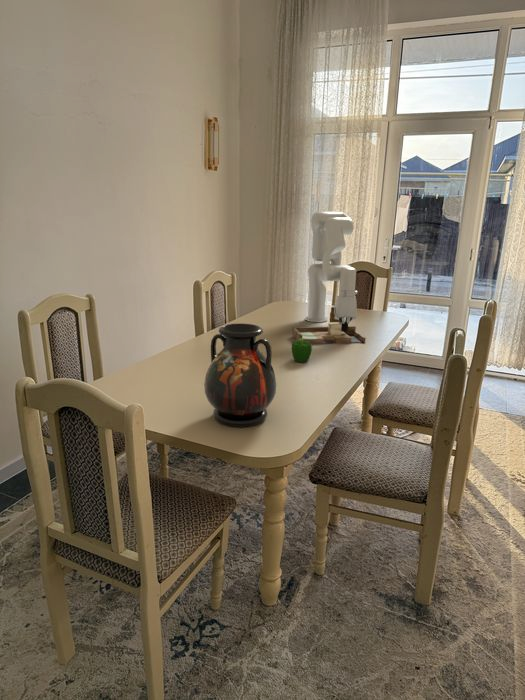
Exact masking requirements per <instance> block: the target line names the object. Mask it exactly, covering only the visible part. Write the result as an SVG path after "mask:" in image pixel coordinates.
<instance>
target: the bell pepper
mask: <svg viewBox="0 0 525 700" xmlns="http://www.w3.org/2000/svg"><path fill="white" fill-rule="evenodd" d="M312 347H313V346H312V344H310V343H309V342H308V341H306V342H303V340H302V339H301V338H300V339H299V341H296V340H295V341H292V344H291V353H292V357H293V360H294V361H295V362H296V363H305V362H308V361H309V360H310V357H311V355H312V352H313V351H312V350H313V348H312Z"/></svg>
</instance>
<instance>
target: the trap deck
mask: <svg viewBox="0 0 525 700" xmlns="http://www.w3.org/2000/svg"><path fill="white" fill-rule="evenodd" d="M356 329H357V326H354V325H348V329H347V331H345V332H344V331H342V329H341V335H330V334H329V333H328V326H310V327H309V326H306V327H304V326H303V327H300V326H298V327H292V338H293V339H294V338H295V339H294V340H295V342H296V341H299V339H300V338H301V339H302V340H303V342H306V341H308V342H309V343H310V344H311V345H332V344H333V343H340V344H360V343H359V342H365V343H366V341H367V340H366V336H364V334H363V335H362V334H361V333H360V332H359V331H357V330H356ZM333 345H334V344H333Z"/></svg>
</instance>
